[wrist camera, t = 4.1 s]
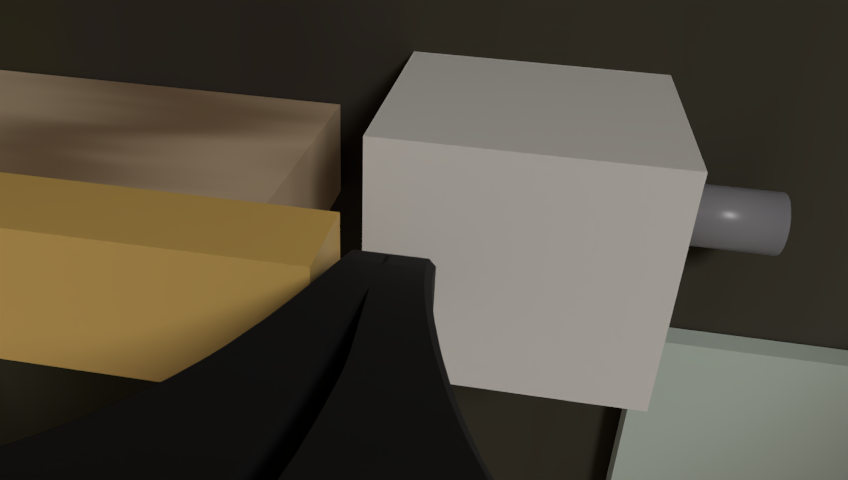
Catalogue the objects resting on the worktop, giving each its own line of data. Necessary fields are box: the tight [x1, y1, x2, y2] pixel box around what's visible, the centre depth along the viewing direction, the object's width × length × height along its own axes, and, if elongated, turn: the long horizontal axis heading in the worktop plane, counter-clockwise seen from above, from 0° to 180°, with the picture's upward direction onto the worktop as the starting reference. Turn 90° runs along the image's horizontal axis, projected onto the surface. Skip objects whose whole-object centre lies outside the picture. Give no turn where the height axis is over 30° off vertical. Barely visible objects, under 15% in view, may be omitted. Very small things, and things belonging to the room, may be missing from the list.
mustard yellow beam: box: [0, 172, 340, 382], centre depth 12 cm, size 9×2×2 cm, turn 87°
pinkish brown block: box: [0, 70, 341, 211], centre depth 15 cm, size 8×2×5 cm, turn 87°
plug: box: [362, 52, 791, 412], centre depth 14 cm, size 7×4×5 cm, turn 87°
